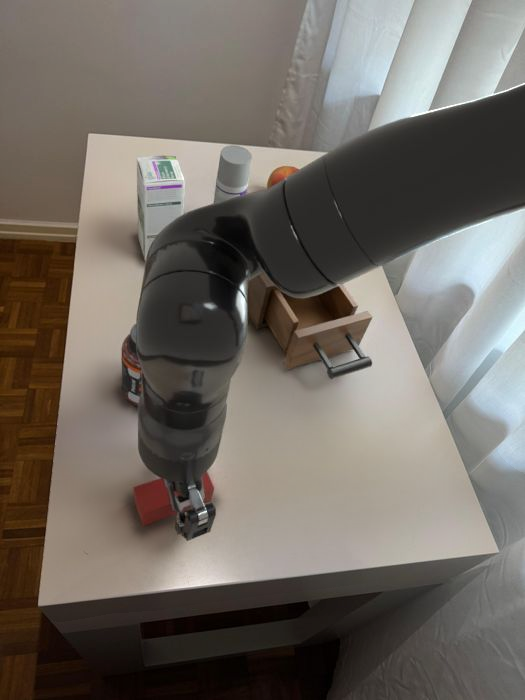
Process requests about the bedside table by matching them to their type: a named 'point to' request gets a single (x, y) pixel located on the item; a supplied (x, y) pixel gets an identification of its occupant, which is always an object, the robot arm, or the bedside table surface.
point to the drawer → (318, 328)
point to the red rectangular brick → (161, 499)
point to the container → (232, 173)
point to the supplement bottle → (131, 368)
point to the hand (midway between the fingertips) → (173, 496)
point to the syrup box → (158, 196)
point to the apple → (280, 175)
